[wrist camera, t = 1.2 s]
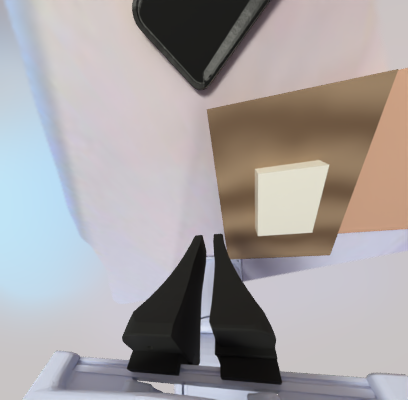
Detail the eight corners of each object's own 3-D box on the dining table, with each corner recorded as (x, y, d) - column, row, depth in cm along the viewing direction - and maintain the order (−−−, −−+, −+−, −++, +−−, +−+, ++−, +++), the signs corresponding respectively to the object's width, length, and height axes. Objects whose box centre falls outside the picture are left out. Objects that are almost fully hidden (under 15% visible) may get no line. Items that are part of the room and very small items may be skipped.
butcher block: (319, 241, 23) (329, 255, 20) (227, 246, 25) (228, 259, 23) (367, 76, 13) (398, 69, 11) (208, 110, 15) (206, 109, 13)
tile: (305, 224, 18) (312, 232, 17) (255, 227, 19) (257, 236, 18) (319, 159, 14) (329, 164, 13) (254, 168, 15) (258, 174, 14)
